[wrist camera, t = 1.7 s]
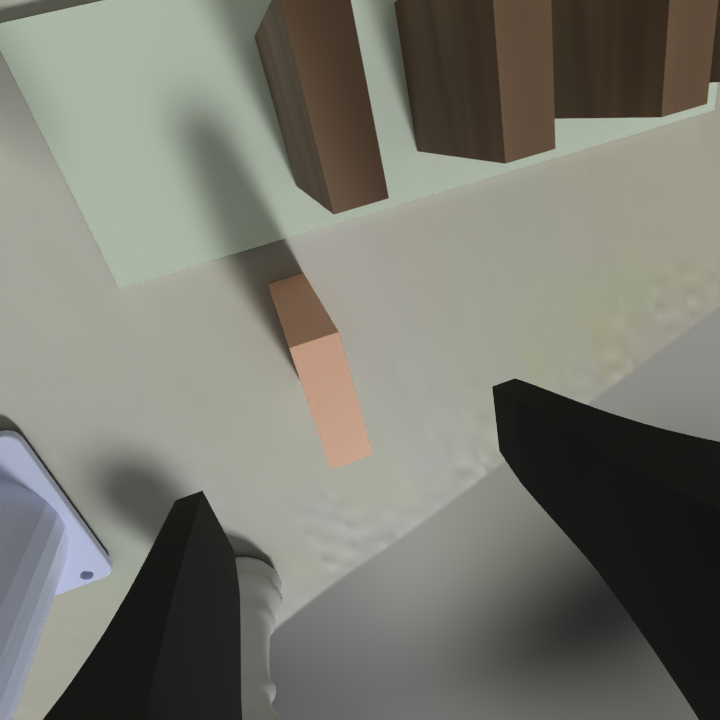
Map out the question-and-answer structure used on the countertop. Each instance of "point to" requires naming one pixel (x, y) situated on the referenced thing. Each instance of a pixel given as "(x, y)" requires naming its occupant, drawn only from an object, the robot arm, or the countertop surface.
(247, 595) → the rook chess piece
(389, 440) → the countertop surface
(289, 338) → the terracotta domino
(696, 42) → the domino
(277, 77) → the domino
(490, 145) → the domino
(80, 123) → the sage mat
